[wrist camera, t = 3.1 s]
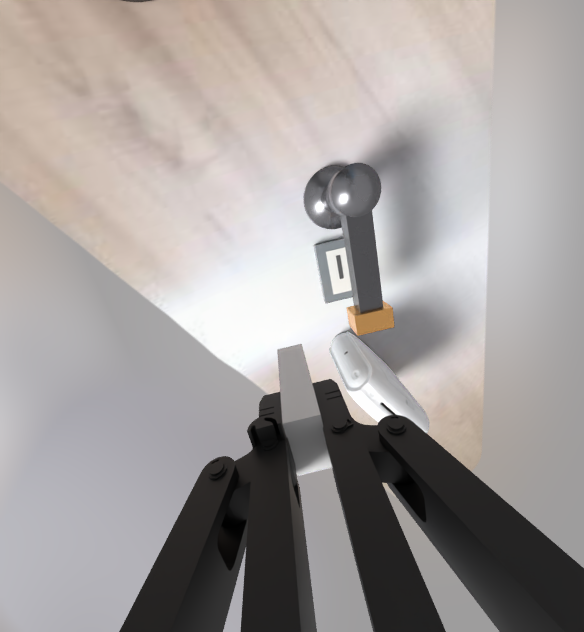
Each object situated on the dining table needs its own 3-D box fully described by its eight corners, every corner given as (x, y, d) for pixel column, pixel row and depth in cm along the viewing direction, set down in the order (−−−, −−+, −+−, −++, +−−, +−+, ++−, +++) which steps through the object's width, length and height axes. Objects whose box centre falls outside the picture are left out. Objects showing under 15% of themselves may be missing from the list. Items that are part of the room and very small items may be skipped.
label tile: (313, 245, 33) (315, 246, 32) (363, 233, 33) (366, 234, 32) (324, 301, 35) (326, 303, 34) (370, 290, 35) (374, 292, 34)
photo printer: (322, 347, 37) (346, 405, 26) (345, 324, 37) (381, 373, 25) (372, 390, 40) (414, 460, 29) (394, 370, 39) (447, 433, 28)
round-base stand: (298, 174, 30) (305, 163, 24) (355, 160, 30) (378, 145, 24) (309, 234, 33) (319, 238, 26) (363, 221, 33) (385, 222, 26)
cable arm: (322, 174, 24) (328, 168, 22) (367, 163, 24) (378, 157, 22) (347, 325, 29) (355, 336, 27) (384, 316, 29) (396, 326, 27)
